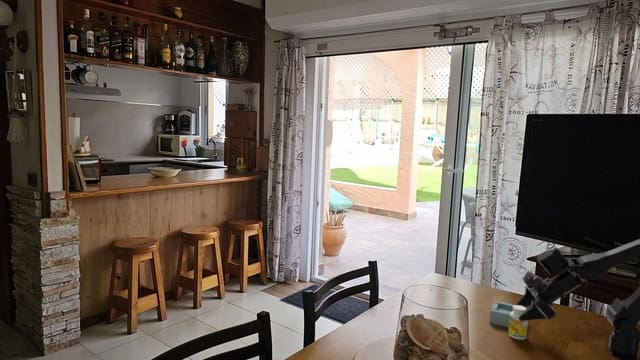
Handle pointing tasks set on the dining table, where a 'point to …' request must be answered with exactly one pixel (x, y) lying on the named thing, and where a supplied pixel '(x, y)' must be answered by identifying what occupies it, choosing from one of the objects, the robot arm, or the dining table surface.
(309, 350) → the dining table surface
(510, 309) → the teal tray
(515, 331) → the supplement bottle
